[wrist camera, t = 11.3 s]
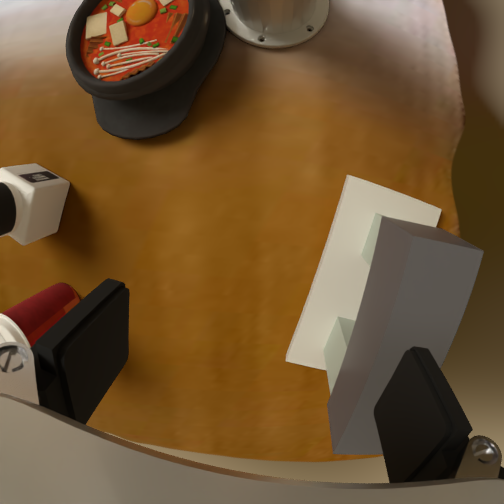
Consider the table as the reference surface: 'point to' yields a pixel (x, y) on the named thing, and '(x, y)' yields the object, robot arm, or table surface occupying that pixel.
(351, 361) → the bar
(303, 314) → the stand
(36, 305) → the coffee cup
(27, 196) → the container
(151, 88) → the casserole
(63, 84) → the table surface
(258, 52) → the table surface
